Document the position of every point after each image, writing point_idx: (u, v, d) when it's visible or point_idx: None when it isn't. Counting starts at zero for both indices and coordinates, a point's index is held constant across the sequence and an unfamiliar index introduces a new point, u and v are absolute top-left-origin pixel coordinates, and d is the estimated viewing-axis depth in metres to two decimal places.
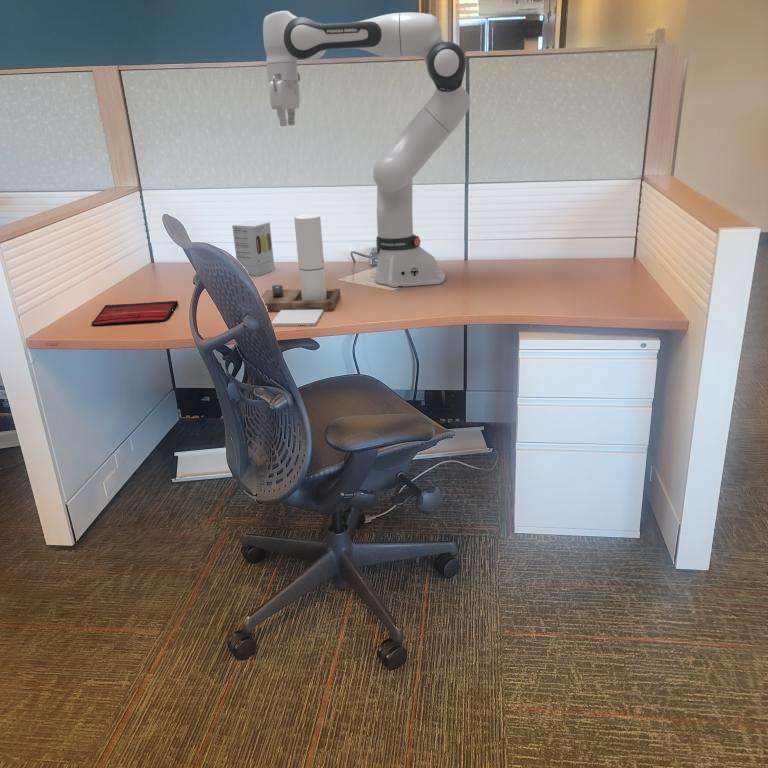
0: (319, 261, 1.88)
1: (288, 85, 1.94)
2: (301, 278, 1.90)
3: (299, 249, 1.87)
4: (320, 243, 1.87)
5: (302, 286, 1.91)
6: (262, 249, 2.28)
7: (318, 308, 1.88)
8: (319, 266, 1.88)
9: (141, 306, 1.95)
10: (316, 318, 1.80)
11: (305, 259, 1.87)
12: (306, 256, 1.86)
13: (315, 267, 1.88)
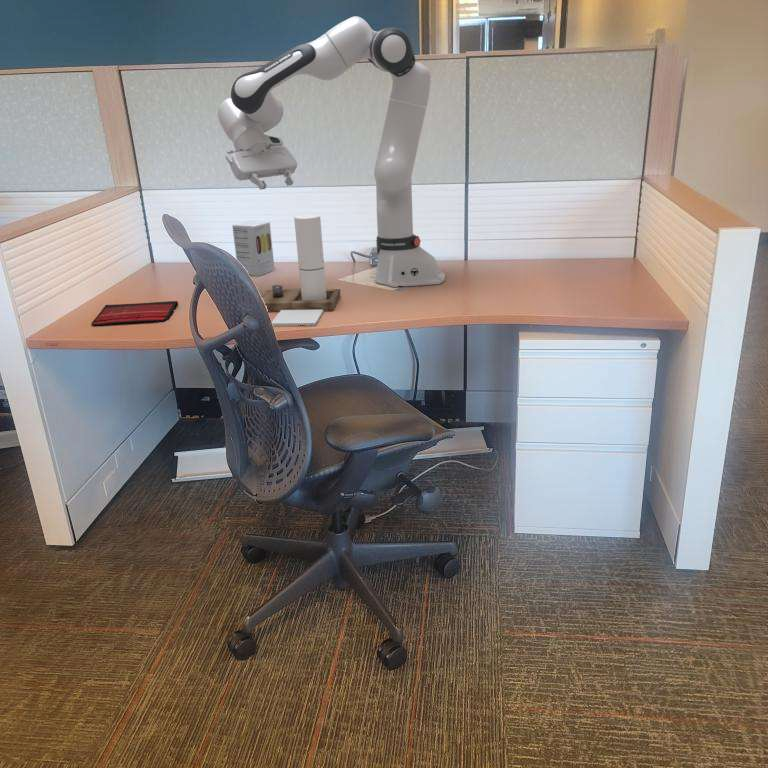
0: (319, 261, 1.88)
1: (253, 152, 1.90)
2: (301, 278, 1.90)
3: (299, 249, 1.87)
4: (320, 243, 1.87)
5: (302, 286, 1.91)
6: (263, 249, 2.28)
7: (318, 308, 1.88)
8: (319, 266, 1.88)
9: (141, 306, 1.95)
10: (316, 318, 1.80)
11: (305, 259, 1.87)
12: (306, 256, 1.86)
13: (315, 267, 1.88)
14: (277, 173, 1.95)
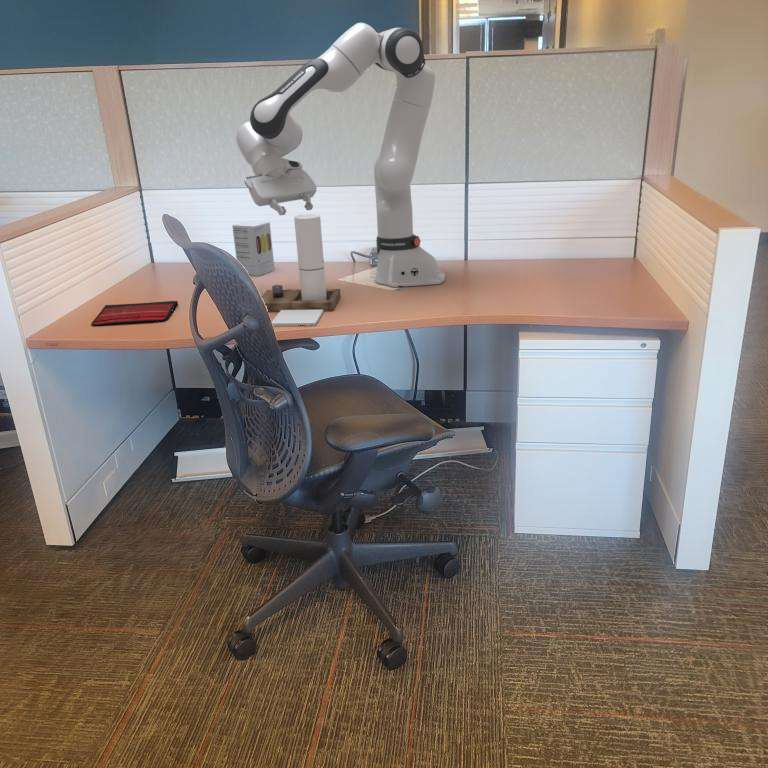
0: (319, 261, 1.88)
1: (273, 177, 1.87)
2: (301, 278, 1.90)
3: (299, 249, 1.87)
4: (320, 243, 1.87)
5: (302, 286, 1.91)
6: (263, 249, 2.28)
7: (318, 308, 1.88)
8: (319, 266, 1.88)
9: (141, 306, 1.95)
10: (316, 318, 1.80)
11: (305, 259, 1.87)
12: (306, 256, 1.86)
13: (315, 267, 1.88)
14: (296, 197, 1.92)
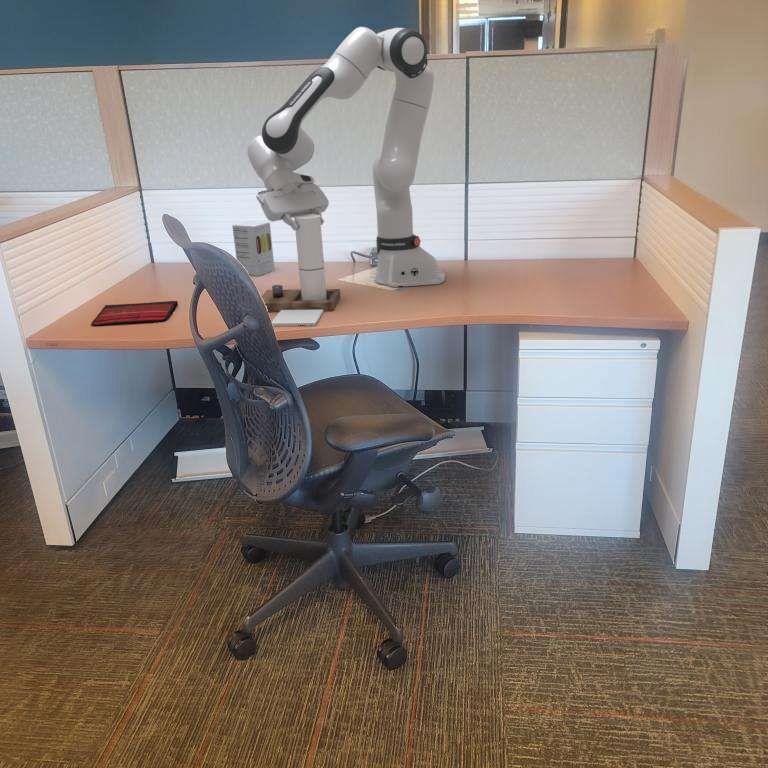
0: (319, 261, 1.88)
1: (285, 192, 1.85)
2: (301, 278, 1.90)
3: (299, 249, 1.87)
4: (320, 243, 1.87)
5: (302, 286, 1.91)
6: (263, 249, 2.28)
7: (318, 308, 1.88)
8: (319, 266, 1.88)
9: (141, 306, 1.95)
10: (316, 318, 1.80)
11: (305, 259, 1.87)
12: (306, 256, 1.86)
13: (315, 267, 1.88)
14: (308, 212, 1.90)
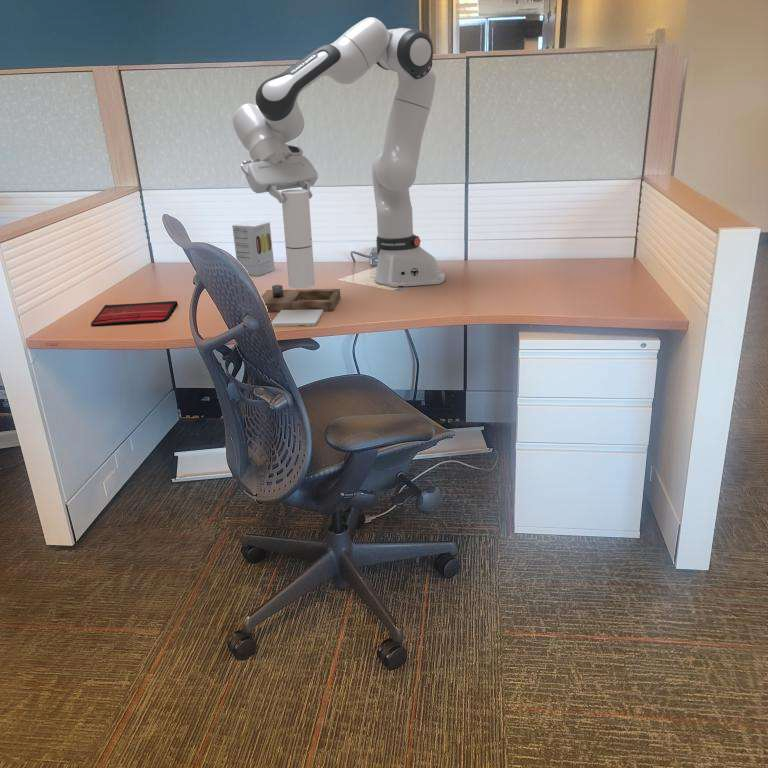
0: (307, 239, 1.79)
1: (271, 162, 1.75)
2: (288, 257, 1.81)
3: (286, 226, 1.77)
4: (308, 220, 1.77)
5: (289, 265, 1.82)
6: (263, 249, 2.28)
7: (318, 308, 1.88)
8: (307, 244, 1.79)
9: (141, 306, 1.95)
10: (316, 318, 1.80)
11: (292, 236, 1.77)
12: (293, 233, 1.77)
13: (302, 245, 1.78)
14: (296, 185, 1.80)
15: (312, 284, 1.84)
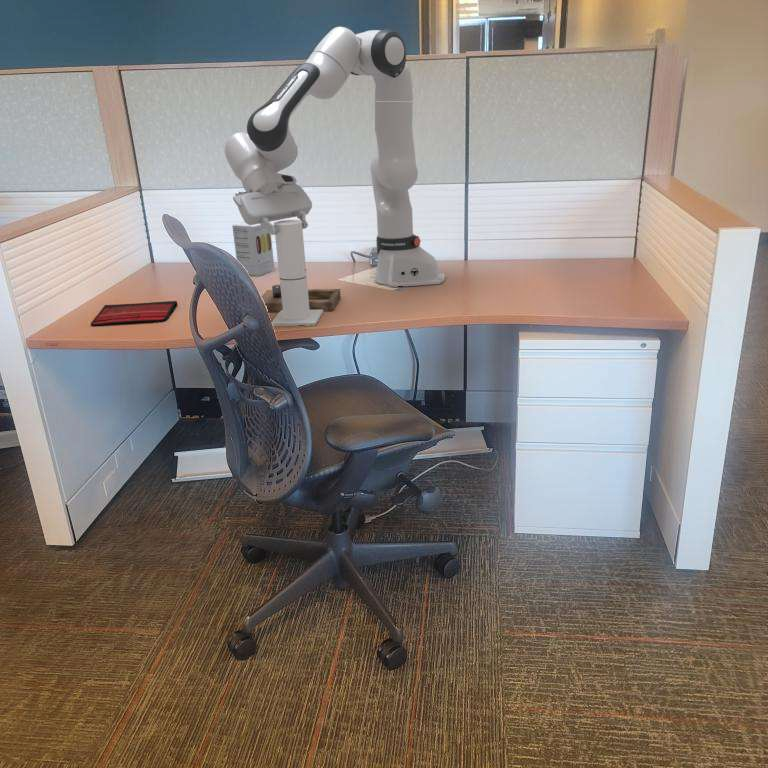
0: (301, 270, 1.75)
1: (264, 193, 1.72)
2: (282, 288, 1.77)
3: (279, 257, 1.74)
4: (302, 251, 1.74)
5: (283, 297, 1.78)
6: (263, 249, 2.28)
7: (318, 308, 1.88)
8: (301, 275, 1.76)
9: (140, 306, 1.95)
10: (316, 318, 1.80)
11: (286, 268, 1.74)
12: (286, 265, 1.74)
13: (296, 276, 1.75)
14: (290, 215, 1.77)
15: (307, 315, 1.81)
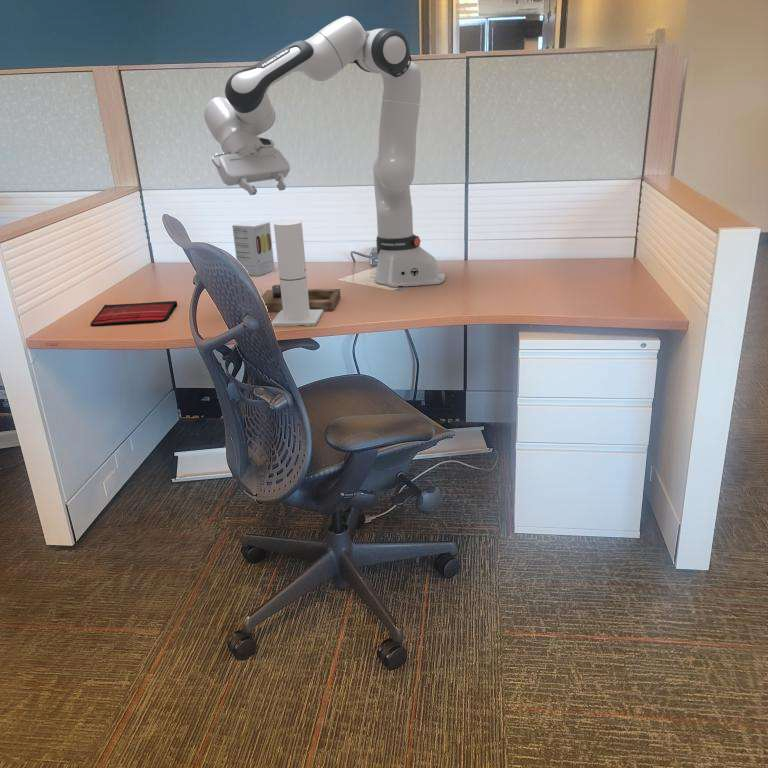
0: (301, 270, 1.75)
1: (242, 155, 1.76)
2: (282, 288, 1.77)
3: (279, 257, 1.74)
4: (302, 251, 1.74)
5: (283, 297, 1.78)
6: (263, 249, 2.28)
7: (318, 308, 1.88)
8: (301, 276, 1.76)
9: (140, 306, 1.95)
10: (316, 318, 1.80)
11: (286, 268, 1.74)
12: (286, 265, 1.74)
13: (296, 277, 1.75)
14: (268, 177, 1.81)
15: (307, 315, 1.81)
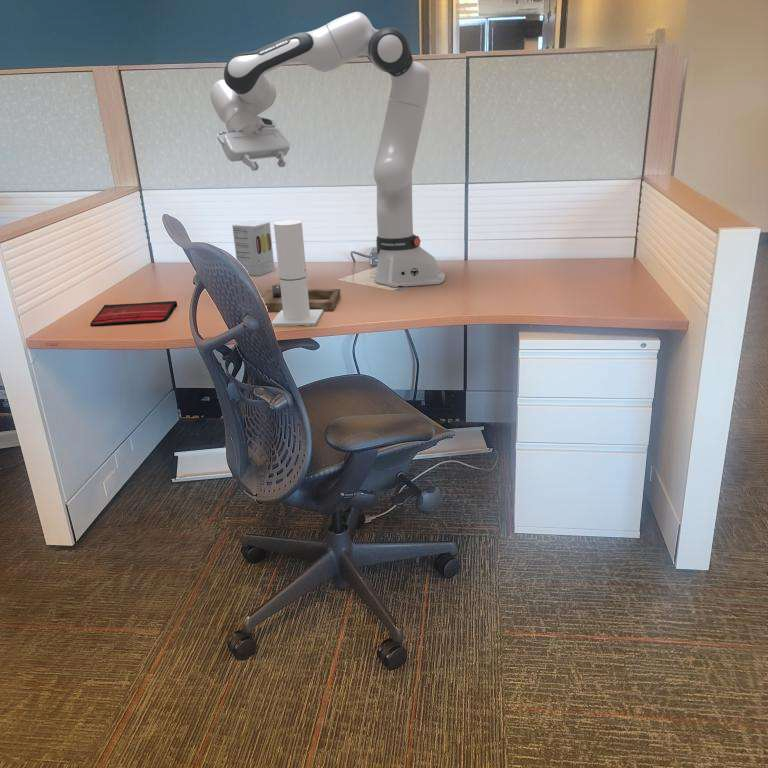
0: (301, 270, 1.75)
1: (246, 133, 1.89)
2: (282, 288, 1.77)
3: (279, 257, 1.74)
4: (302, 251, 1.74)
5: (283, 297, 1.78)
6: (263, 249, 2.28)
7: (318, 308, 1.88)
8: (301, 276, 1.76)
9: (140, 306, 1.95)
10: (316, 318, 1.80)
11: (286, 268, 1.74)
12: (286, 265, 1.74)
13: (296, 277, 1.75)
14: (269, 155, 1.94)
15: (307, 315, 1.81)
